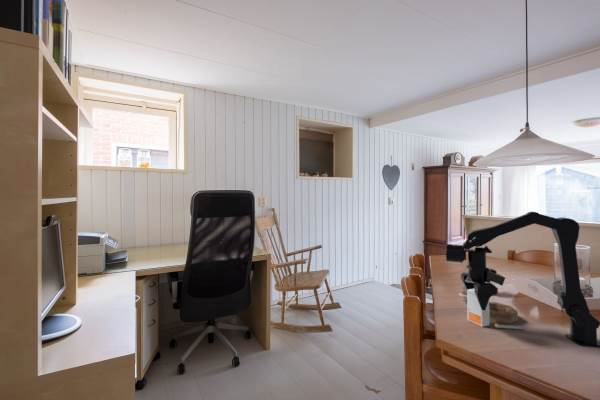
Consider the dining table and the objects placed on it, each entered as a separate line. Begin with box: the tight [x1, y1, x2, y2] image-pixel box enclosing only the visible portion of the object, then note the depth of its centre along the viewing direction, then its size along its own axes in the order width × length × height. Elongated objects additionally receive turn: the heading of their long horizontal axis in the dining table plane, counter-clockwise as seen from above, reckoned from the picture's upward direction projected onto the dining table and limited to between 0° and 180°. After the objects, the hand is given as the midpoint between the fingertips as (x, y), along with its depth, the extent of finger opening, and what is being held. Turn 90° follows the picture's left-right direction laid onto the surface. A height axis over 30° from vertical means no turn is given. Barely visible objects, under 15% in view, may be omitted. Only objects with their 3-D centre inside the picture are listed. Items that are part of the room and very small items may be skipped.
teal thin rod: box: [494, 323, 525, 330], centre depth 100 cm, size 9×1×1 cm, turn 77°
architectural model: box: [459, 284, 467, 302], centre depth 127 cm, size 3×7×7 cm, turn 66°
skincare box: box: [466, 289, 491, 328], centre depth 105 cm, size 6×4×12 cm
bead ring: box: [489, 301, 519, 324], centre depth 111 cm, size 12×12×4 cm
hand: (478, 305), depth 105 cm, fingers open, 9 cm apart
